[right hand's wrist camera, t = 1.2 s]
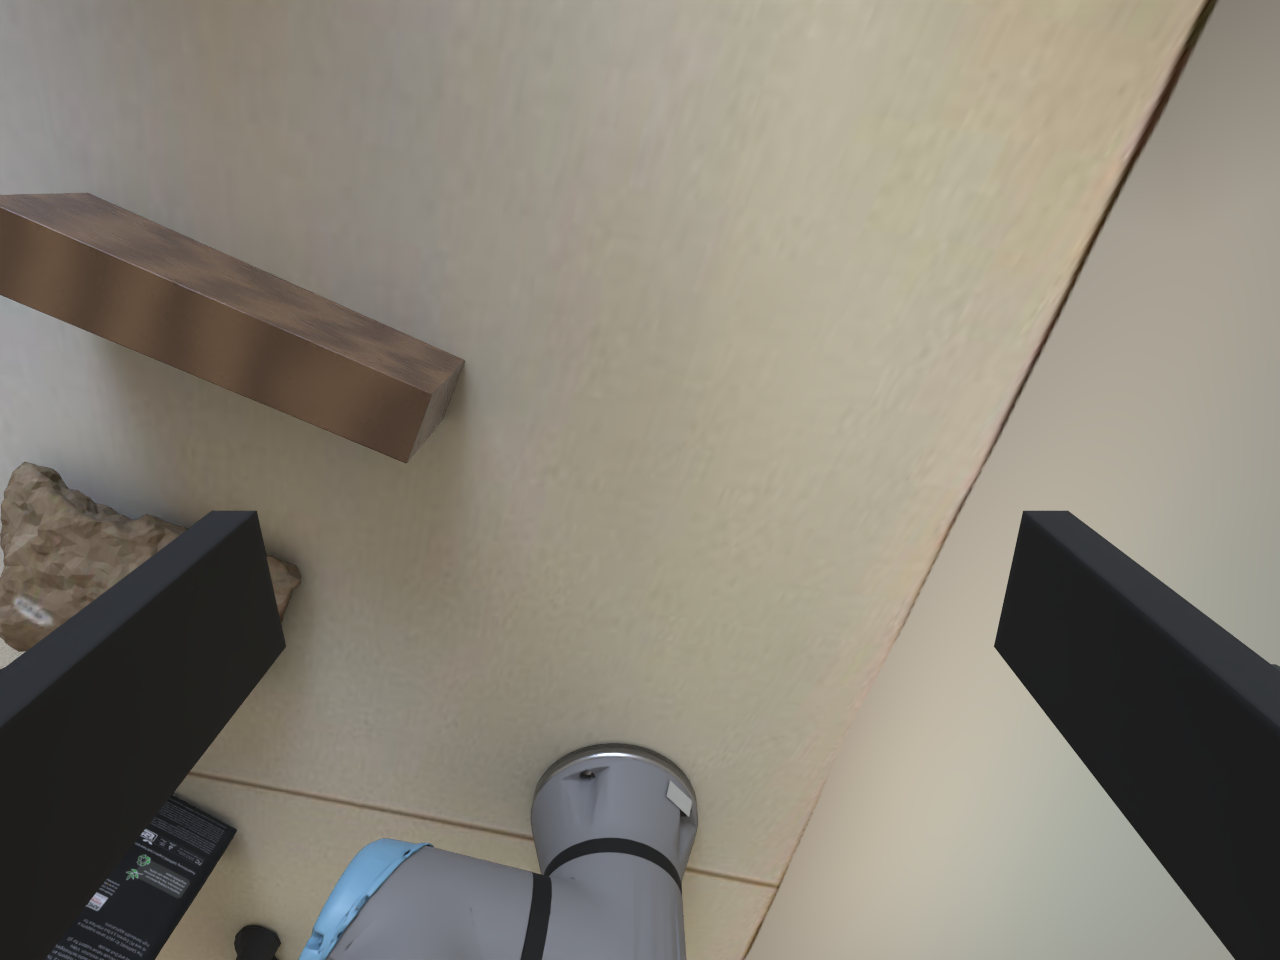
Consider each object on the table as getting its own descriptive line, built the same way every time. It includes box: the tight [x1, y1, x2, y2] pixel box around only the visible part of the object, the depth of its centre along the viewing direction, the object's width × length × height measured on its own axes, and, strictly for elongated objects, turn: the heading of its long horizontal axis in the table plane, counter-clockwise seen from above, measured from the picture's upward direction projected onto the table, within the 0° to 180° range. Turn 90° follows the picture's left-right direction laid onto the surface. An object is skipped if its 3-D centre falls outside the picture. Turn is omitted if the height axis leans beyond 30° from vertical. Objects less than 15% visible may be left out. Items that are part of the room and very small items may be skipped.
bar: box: [0, 193, 465, 463], centre depth 47 cm, size 26×5×9 cm, turn 65°
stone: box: [0, 462, 301, 652], centre depth 56 cm, size 21×15×6 cm
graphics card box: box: [45, 795, 237, 960], centre depth 55 cm, size 17×7×27 cm, turn 52°
